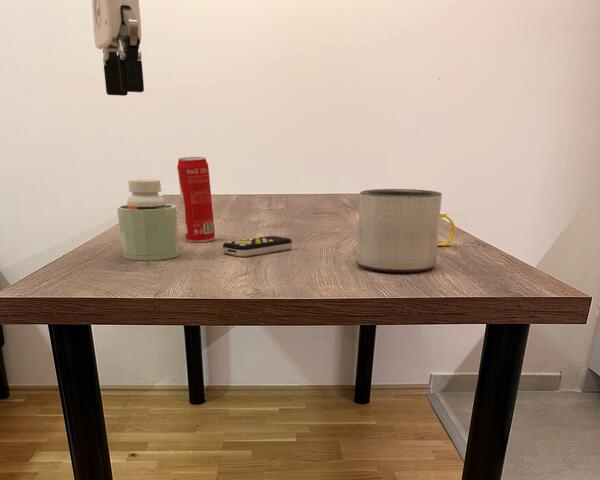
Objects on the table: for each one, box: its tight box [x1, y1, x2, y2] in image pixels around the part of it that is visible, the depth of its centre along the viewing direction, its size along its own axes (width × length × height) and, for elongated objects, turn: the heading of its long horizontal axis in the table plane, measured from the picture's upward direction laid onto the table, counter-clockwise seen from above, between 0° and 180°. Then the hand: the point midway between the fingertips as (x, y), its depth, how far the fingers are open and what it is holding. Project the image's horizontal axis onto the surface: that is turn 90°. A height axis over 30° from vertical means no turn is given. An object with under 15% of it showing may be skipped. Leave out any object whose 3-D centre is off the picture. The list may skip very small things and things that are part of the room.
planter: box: [356, 188, 443, 274], centre depth 99 cm, size 13×12×11 cm
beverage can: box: [176, 156, 216, 243], centre depth 121 cm, size 6×6×15 cm
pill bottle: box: [126, 178, 166, 210], centre depth 107 cm, size 6×6×11 cm
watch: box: [437, 211, 456, 247], centre depth 119 cm, size 6×3×6 cm, turn 86°
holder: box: [116, 203, 180, 262], centre depth 108 cm, size 10×10×8 cm
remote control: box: [222, 235, 293, 258], centre depth 113 cm, size 6×13×2 cm, turn 136°
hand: (124, 93), depth 96 cm, fingers open, 9 cm apart
